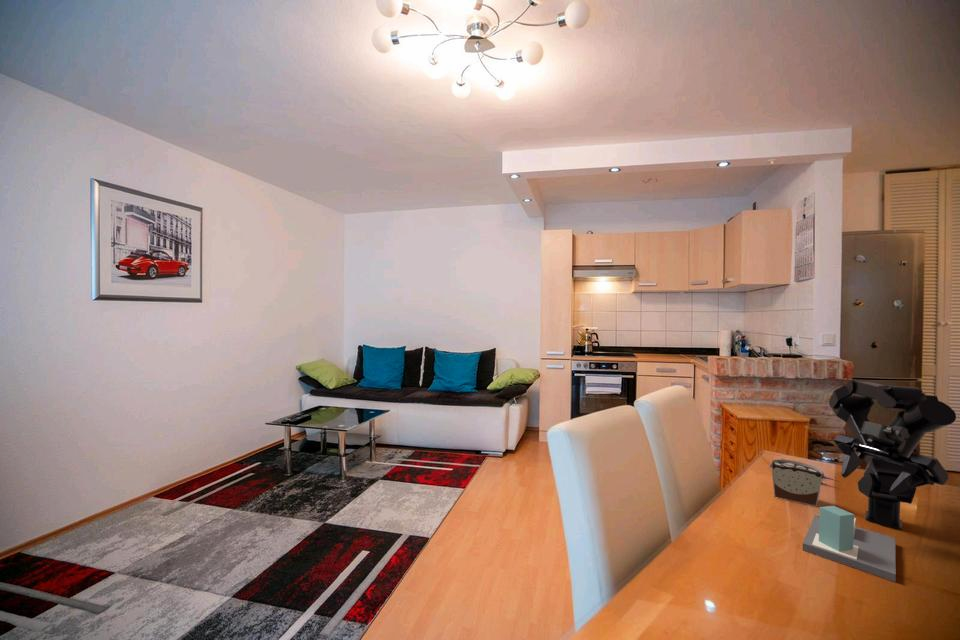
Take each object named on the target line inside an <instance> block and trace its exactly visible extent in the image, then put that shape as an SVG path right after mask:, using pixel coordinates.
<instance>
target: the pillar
mask: <svg viewBox="0 0 960 640" xmlns="http://www.w3.org/2000/svg"><path fill="white" fill-rule="evenodd" d="M818 514H819V515H818V516H819V542H821V543H823V544H825V545H827V546H829V547H831V548H833V549H835V550H837V551H847V550H853V537H854V518H855V514H854V513H852V512H849V511H847V510H845V509H842V508H840V507H837V506H835V505H828V506H819V513H818Z"/></svg>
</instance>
